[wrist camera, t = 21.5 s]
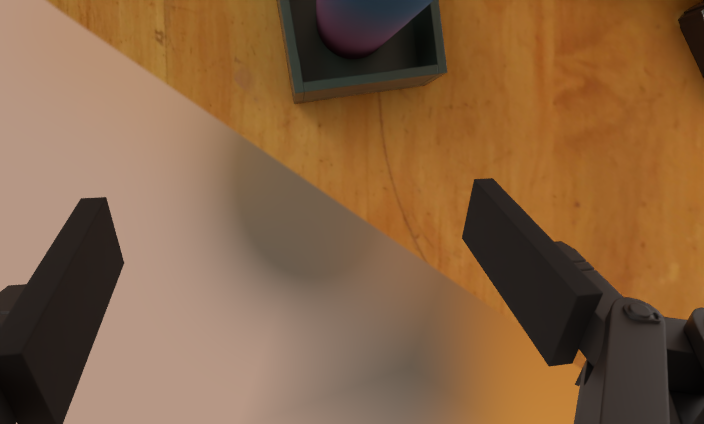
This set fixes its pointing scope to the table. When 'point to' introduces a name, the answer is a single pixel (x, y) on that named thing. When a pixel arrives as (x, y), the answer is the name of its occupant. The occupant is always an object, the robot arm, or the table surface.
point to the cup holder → (365, 73)
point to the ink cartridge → (694, 32)
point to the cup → (362, 23)
